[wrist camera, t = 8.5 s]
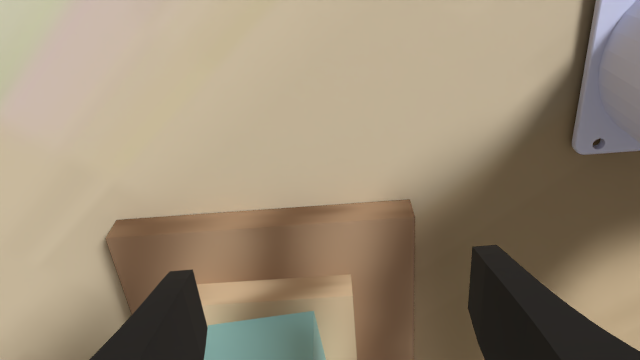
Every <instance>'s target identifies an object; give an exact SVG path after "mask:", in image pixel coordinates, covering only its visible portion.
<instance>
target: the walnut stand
mask: <svg viewBox="0 0 640 360" xmlns="http://www.w3.org/2000/svg"><path fill="white" fill-rule="evenodd" d="M105 239H106V241H107V244H108V247H109V250H110V253H111V256H112V259H113V262H114V265H115V267H116V270H117V273H118V276H119V279H120V282H121V285H122V288H123V291H124V293H125V296H126V299H127V302H128V305H129V308H130V311H131V314H133V313H134V312H135V311H136V310H137V309H138V307H139V306H140V305H141V304H142V303H143V302H144V300H145V299H146V298H147V297H148V296H149V295H150V293H151V292H152V291H153V290H154V289H155V287H156V286H157V285H158V284H159V283H160V282H161V280H162V279H163V278H164V277H165V276H166V275H167V274H168V273H169V271H180V270H192V269H193V272H194V276H195V280H196V284H197V288H198V292H199V296H200V300H201V304H202V307H203V311H204V315H205V319H206V323H207V327H208V325H214V324H221V323H228V322H236V321H243V320H250V319H257V318H265V317H272V316H279V315H287V314H294V313H301V312H308V311H314V314H315V318H316V322H317V326H318V330H319V334H320V338H321V342H322V346H323V350H324V354H325V358H326V360H414V262H415V216H414V212H413V209H412V206H411V202H410V200H396V201H381V202H367V203H353V204H339V205H324V206H310V207H296V208H282V209H267V210H253V211H239V212H225V213H210V214H196V215H182V216H168V217H154V218H139V219H125V220H116V222H115V224H114V225H113V227H112V229H111V230H110V232H109V233H108V235H107V237H106V238H105Z"/></svg>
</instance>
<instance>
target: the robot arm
mask: <svg viewBox="0 0 640 360" xmlns="http://www.w3.org/2000/svg"><path fill="white" fill-rule="evenodd" d="M599 138H601V140H600V142H599V143H598V144H597V145H594V146H593V142H594V141H595V140H596V139H599ZM572 147H573V149H574V150H575V151H576V152H577V153H579V154H582V155H588V154H602V153H616V152H629V151H640V0H596V3H595V9H594V15H593V20H592V26H591V32H590V38H589V44H588V50H587V56H586V62H585V67H584V73H583V79H582V85H581V91H580V97H579V103H578V109H577V115H576V120H575V126H574V132H573V138H572ZM468 309H469V313H470V316H471V320H472V324H473V327H474V331H475V334H476V337H477V341H478V344H479V346H480V349H481V351H482V353H483V356H484V358H485V360H640V351H638V350H636V349H635V348H633V347H631V346H629V345H628V344H626V343H625V342H623V341H621V340H620V339H618V338H617V337H615V336H613V335H612V334H610V333H608V332H607V331H605V330H604V329H602V328H601V327H599V326H598V325H596V324H595V323H593V322H592V321H590V320H589V319H587V318H586V317H585V316H583V315H582V314H581V313H579V312H578V311H576V310H575V309H574V308H572V307H571V306H569V305H568V304H567V303H565V302H564V301H563V300H562V299H560V298H559V297H558V296H556V295H555V294H554V293H553V292H551V291H550V290H549V289H548V288H546V287H545V286H544V285H543V284H541V283H540V282H539V281H538V280H537V279H535V278H534V277H533V276H532V275H531V274H530V273H528V272H527V271H526V270H525V269H524V268H523V267H521V266H520V265H519V264H518V263H517V262H516V261H515V260H513V259H512V258H511V257H510V256H509V255H508V254H507V253H505V252H504V251H503V250H502V249H501V248H500V247H498V246H497V245H490V246H477V247H473V248H472V261H471V275H470V288H469V301H468ZM207 330H208V327H207V323H206V319H205V315H204V311H203V307H202V304H201V300H200V296H199V292H198V288H197V284H196V280H195V276H194V272H193V269H192V270H180V271H169V273H168V274H167V275H166V276H165V277H164V278H163V279H162V280H161V282H160V283H159V284H158V285H157V286H156V287H155V289H154V290H153V291H152V292H151V293H150V295H149V296H148V297H147V298H146V299H145V300H144V302H143V303H142V304H141V305H140V306H139V307H138V309H137V310H136V311H135V312H134V313H133V314H132V315H131V316H130V318H129V319H128V320H127V321H126V322H125V323H124V324H123V325H122V327H121V328H120V329H119V330H118V331H117V332H116V333H115V334H114V335H113V336H112V337H111V338H110V339H109V340H108V341H107V342H106V343H105V344H104V345H103V346H102V347H101V349H100V350H99V351H98V352H97V353H96V354H95V355H94V356H93V357H92V358H91V359H89V360H204V355H205V348H206V339H207Z"/></svg>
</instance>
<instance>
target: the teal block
mask: <svg viewBox="0 0 640 360" xmlns="http://www.w3.org/2000/svg"><path fill="white" fill-rule="evenodd" d="M204 360H326V358H325V354H324V350H323V346H322V342H321V338H320V334H319V330H318V326H317V322H316V318H315V314H314V311H308V312H301V313H294V314H287V315H279V316H272V317H265V318H257V319H250V320H243V321H236V322H228V323H221V324H214V325H208V330H207V339H206V348H205V355H204Z"/></svg>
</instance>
